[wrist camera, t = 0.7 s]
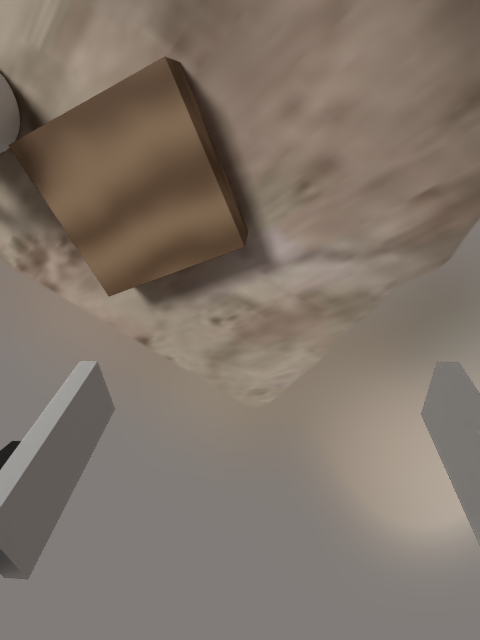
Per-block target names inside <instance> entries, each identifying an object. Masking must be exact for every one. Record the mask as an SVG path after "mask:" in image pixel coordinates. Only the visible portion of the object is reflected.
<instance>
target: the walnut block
mask: <svg viewBox="0 0 480 640" xmlns="http://www.w3.org/2000/svg"><path fill="white" fill-rule="evenodd" d="M8 146H9V147H10V149H11V150H12V152H13V153H14V155H15V156H16V158H17V159H18V161H19V162H20V164H21V165H22V167H23V168H24V170H25V171H26V173H27V174H28V176H29V177H30V179H31V180H32V182H33V183H34V185H35V186H36V188H37V189H38V191H39V192H40V194H41V195H42V197H43V198H44V200H45V201H46V203H47V204H48V206H49V207H50V209H51V210H52V212H53V213H54V215H55V216H56V218H57V219H58V221H59V222H60V224H61V225H62V227H63V228H64V230H65V231H66V233H67V234H68V236H69V237H70V239H71V240H72V242H73V243H74V245H75V246H76V248H77V249H78V251H79V252H80V254H81V255H82V257H83V258H84V260H85V261H86V263H87V264H88V266H89V267H90V269H91V270H92V272H93V273H94V275H95V276H96V278H97V279H98V281H99V282H100V284H101V285H102V287H103V288H104V290H105V291H106V293H107V294H108V296H112V295H114V294H117V293H120V292H122V291H125V290H128V289H131V288H133V287H136V286H139V285H142V284H144V283H147V282H150V281H153V280H155V279H158V278H161V277H163V276H166V275H169V274H172V273H174V272H177V271H180V270H183V269H185V268H188V267H191V266H193V265H196V264H199V263H202V262H204V261H207V260H210V259H213V258H215V257H218V256H221V255H224V254H226V253H229V252H232V251H234V250H237V249H240V248H243V247H245V243H246V238H247V234H248V229H247V227H246V224H245V222H244V219H243V217H242V214H241V212H240V209H239V207H238V204H237V202H236V199H235V197H234V194H233V192H232V189H231V187H230V185H229V182H228V180H227V177H226V175H225V172H224V170H223V167H222V165H221V162H220V160H219V157H218V155H217V152H216V150H215V147H214V145H213V143H212V140H211V138H210V135H209V133H208V130H207V128H206V125H205V123H204V120H203V118H202V115H201V113H200V110H199V108H198V105H197V103H196V101H195V98H194V96H193V93H192V91H191V88H190V86H189V83H188V81H187V78H186V76H185V73H184V71H183V68H182V66H181V63H180V62H178V61H175V60H173V59H170V58H167V57H163V58H161V59H160V60H158V61H156V62H154V63H153V64H151V65H149V66H147V67H145V68H144V69H142V70H140V71H138V72H137V73H135V74H133V75H131V76H130V77H128V78H126V79H124V80H122V81H121V82H119V83H117V84H115V85H114V86H112V87H110V88H108V89H107V90H105V91H103V92H101V93H99V94H98V95H96V96H94V97H92V98H91V99H89V100H87V101H85V102H84V103H82V104H80V105H78V106H76V107H75V108H73V109H71V110H69V111H68V112H66V113H64V114H62V115H61V116H59V117H57V118H55V119H53V120H52V121H50V122H48V123H46V124H45V125H43V126H41V127H39V128H38V129H36V130H34V131H32V132H30V133H29V134H27V135H25V136H23V137H22V138H20V139H18V140H16V141H15V142H13V143H11V144H9V145H8Z"/></svg>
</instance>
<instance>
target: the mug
mask: <svg viewBox="0 0 480 640" xmlns="http://www.w3.org/2000/svg"><path fill="white" fill-rule="evenodd" d="M19 128H20V114H19V109H18V104H17V101H16V98H15V96H14V94H13V92H12V90H11V88H10V86H9V84H8V83H7V81H6V80H5V78H4V77H3V76H2V75H1V73H0V153H2V152H4V151H6V150H7V149H9V148H10V147H9V146H8V145H9V144H11V143H13V142H15V140H16V138H17V136H18V133H19Z"/></svg>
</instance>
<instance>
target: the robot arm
mask: <svg viewBox="0 0 480 640" xmlns="http://www.w3.org/2000/svg"><path fill="white" fill-rule="evenodd" d="M114 410H115V407H114V405H113V402H112V399H111V396H110V394H109V391H108V388H107V386H106V383H105V380H104V378H103V375H102V372H101V369H100V367H99V364H98V362H97V361H80V362H79V363H78V364H77V366H76V367H75V369H74V370H73V372H72V373H71V374H70V375H69V377H68V378H67V380H66V381H65V382H64V384H63V385H62V386H61V388H60V389H59V391H58V392H57V393H56V395H55V396H54V397H53V399H52V400H51V401H50V403H49V404H48V406H47V407H46V409H45V410H44V411H43V413H42V414H41V415H40V417H39V418H38V419H37V421H36V422H35V423H34V425H33V426H32V427H31V429H30V430H29V432H28V433H27V434H26V436H25V437H24V438H23V440H22V441H12V442H10V443H9V444H8V445H7V446H5V447H4V448H3V449H2V450H1V451H0V574H1V575H2V576H3V577H4V578H17V579H28V578H29V577H30V575H31V572H32V571H33V569H34V566H35V565H36V563H37V561H38V559H39V557H40V555H41V553H42V551H43V549H44V547H45V545H46V543H47V541H48V539H49V537H50V535H51V533H52V531H53V529H54V528H55V526H56V524H57V521H58V520H59V518H60V516H61V514H62V512H63V510H64V508H65V506H66V504H67V502H68V500H69V498H70V496H71V494H72V492H73V490H74V488H75V486H76V484H77V482H78V481H79V479H80V477H81V475H82V473H83V471H84V469H85V467H86V465H87V463H88V461H89V459H90V457H91V455H92V453H93V451H94V449H95V447H96V445H97V443H98V441H99V439H100V437H101V435H102V434H103V431H104V430H105V428H106V426H107V424H108V422H109V420H110V418H111V416H112V414H113V412H114ZM421 415H422V418H423V420H424V422H425V424H426V426H427V428H428V431H429V433H430V435H431V438H432V440H433V442H434V444H435V446H436V449H437V451H438V453H439V455H440V457H441V460H442V462H443V464H444V467H445V469H446V471H447V473H448V475H449V478H450V480H451V482H452V484H453V487H454V489H455V491H456V493H457V495H458V498H459V500H460V502H461V505H462V507H463V509H464V511H465V514H466V516H467V518H468V520H469V522H470V525H471V527H472V529H473V531H474V533H475V536H476V538H477V540H478V543H479V545H480V393H479V391H478V390H477V388H476V387H475V385H474V384H473V382H472V381H471V379H470V378H469V376H468V375H467V374H466V372H465V371H464V369H463V368H462V366H461V365H460V363H459V362H437V363H436V366H435V370H434V373H433V377H432V380H431V383H430V386H429V390H428V393H427V396H426V400H425V403H424V407H423V410H422V413H421Z"/></svg>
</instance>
